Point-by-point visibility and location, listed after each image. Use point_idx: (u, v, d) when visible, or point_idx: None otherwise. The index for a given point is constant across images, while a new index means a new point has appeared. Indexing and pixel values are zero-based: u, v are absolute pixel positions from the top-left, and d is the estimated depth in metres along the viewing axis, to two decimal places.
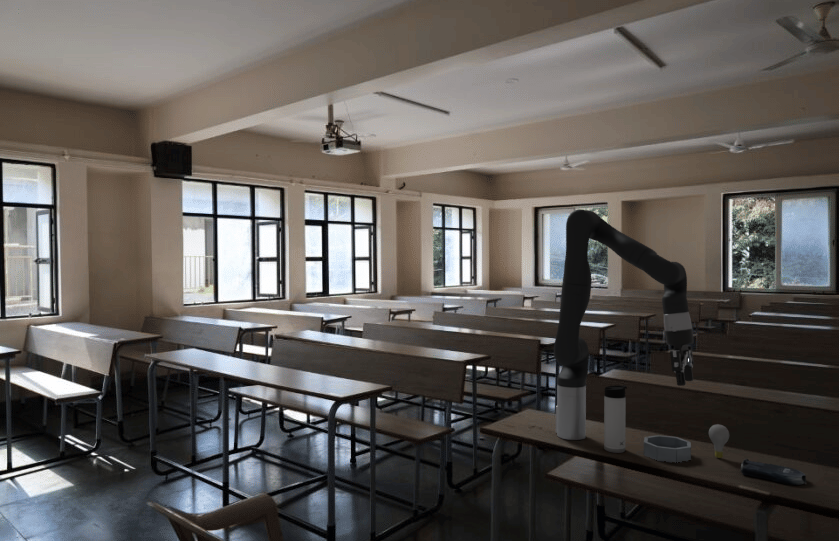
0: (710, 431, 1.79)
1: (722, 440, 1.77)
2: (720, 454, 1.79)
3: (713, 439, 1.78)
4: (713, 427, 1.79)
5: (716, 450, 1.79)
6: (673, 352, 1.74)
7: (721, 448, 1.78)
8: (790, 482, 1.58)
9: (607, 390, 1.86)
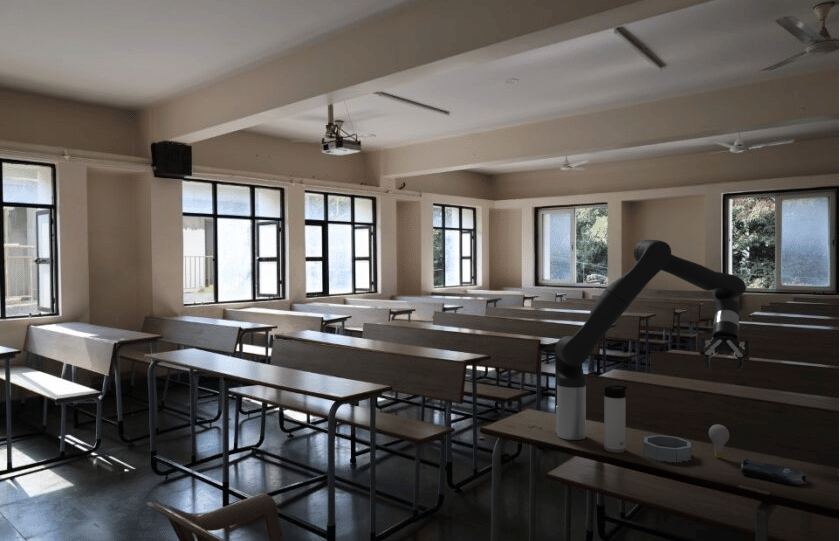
0: (710, 431, 1.79)
1: (722, 440, 1.77)
2: (720, 454, 1.79)
3: (713, 439, 1.78)
4: (713, 427, 1.79)
5: (716, 450, 1.79)
6: (748, 343, 1.90)
7: (721, 448, 1.78)
8: (790, 482, 1.58)
9: (607, 390, 1.86)
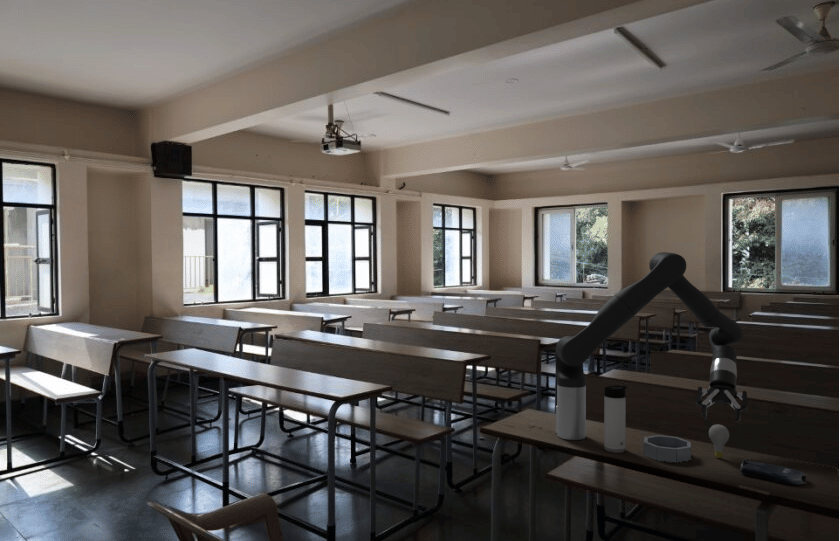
0: (710, 431, 1.79)
1: (722, 440, 1.77)
2: (720, 454, 1.79)
3: (713, 439, 1.78)
4: (713, 427, 1.79)
5: (716, 450, 1.79)
6: (746, 394, 1.86)
7: (721, 448, 1.78)
8: (790, 482, 1.58)
9: (607, 390, 1.86)
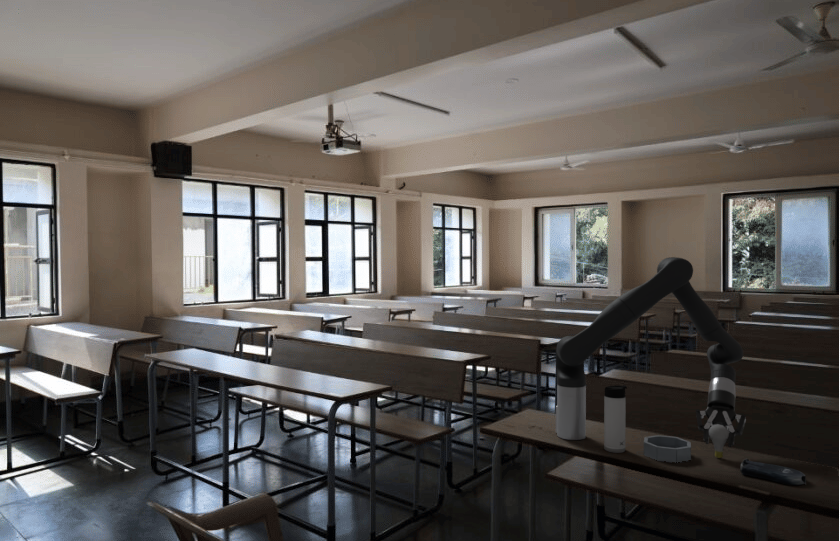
0: (710, 431, 1.79)
1: (722, 440, 1.77)
2: (720, 454, 1.79)
3: (713, 439, 1.78)
4: (713, 427, 1.79)
5: (716, 450, 1.79)
6: (745, 418, 1.80)
7: (721, 448, 1.78)
8: (789, 482, 1.58)
9: (607, 390, 1.86)
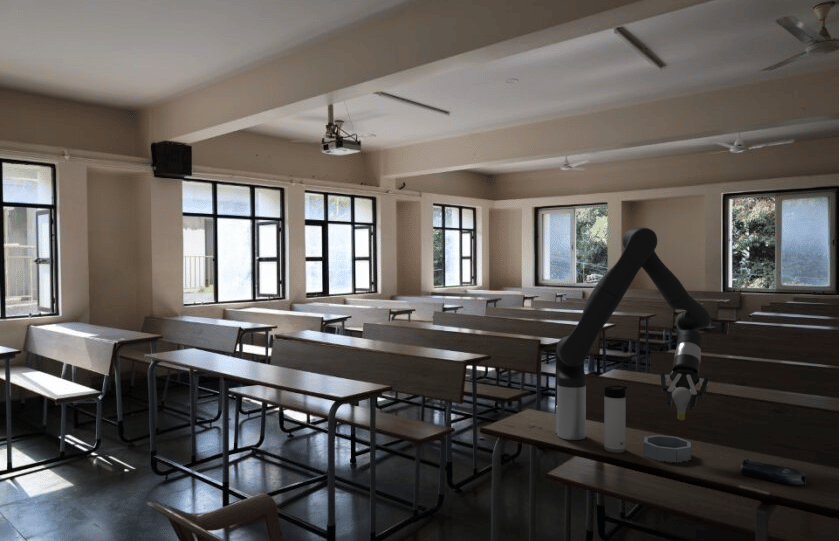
0: (673, 393, 1.81)
1: (684, 401, 1.79)
2: (682, 416, 1.80)
3: (676, 401, 1.80)
4: (676, 389, 1.81)
5: (679, 413, 1.81)
6: (708, 381, 1.82)
7: (683, 410, 1.80)
8: (789, 482, 1.58)
9: (607, 390, 1.86)
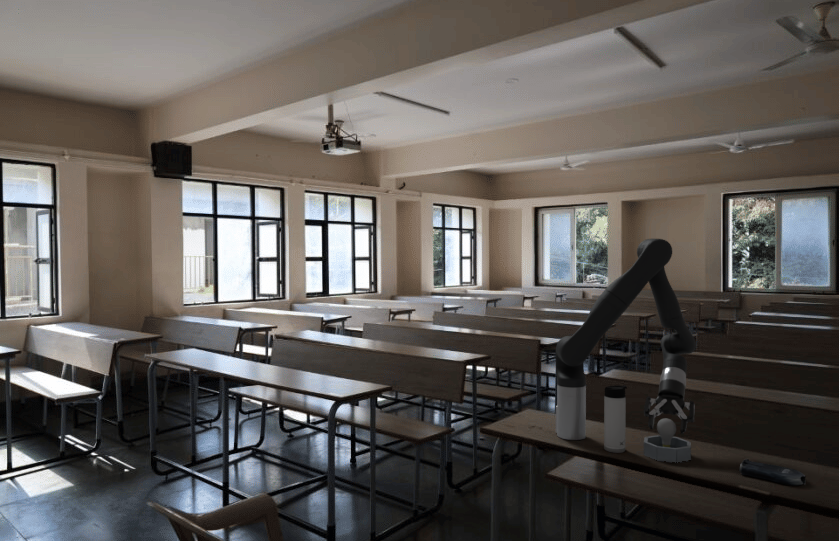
0: (658, 425, 1.82)
1: (669, 433, 1.80)
2: None
3: (660, 433, 1.81)
4: (660, 421, 1.82)
5: (664, 444, 1.82)
6: None
7: (668, 441, 1.82)
8: (788, 482, 1.58)
9: (607, 390, 1.86)
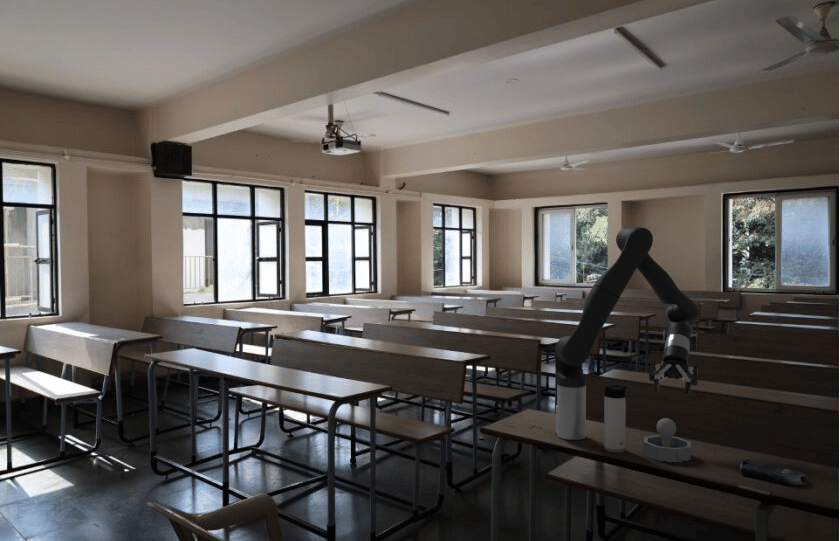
0: (658, 425, 1.82)
1: (669, 433, 1.80)
2: None
3: (660, 433, 1.81)
4: (660, 421, 1.82)
5: (664, 444, 1.82)
6: (697, 368, 1.91)
7: (668, 441, 1.82)
8: (788, 483, 1.58)
9: (607, 390, 1.86)
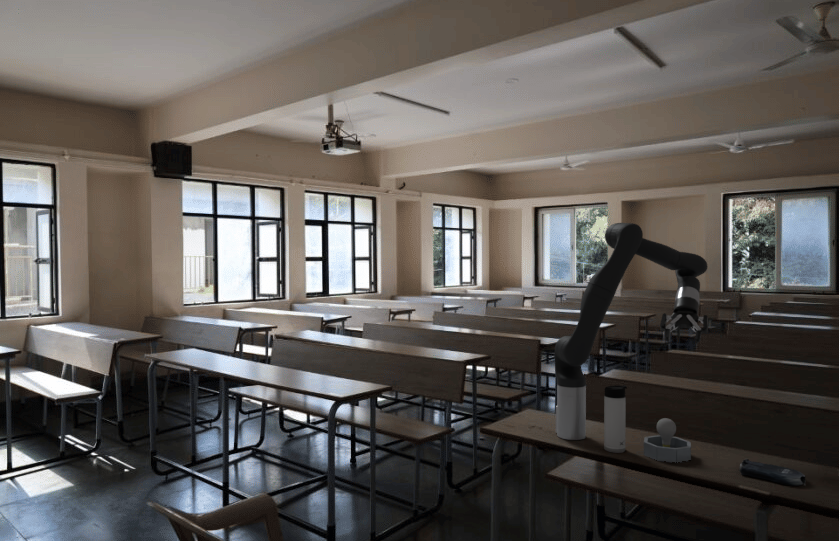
0: (657, 425, 1.82)
1: (669, 433, 1.80)
2: None
3: (660, 433, 1.82)
4: (660, 421, 1.82)
5: (664, 444, 1.82)
6: (707, 318, 1.97)
7: (668, 441, 1.82)
8: (788, 483, 1.58)
9: (607, 390, 1.86)
